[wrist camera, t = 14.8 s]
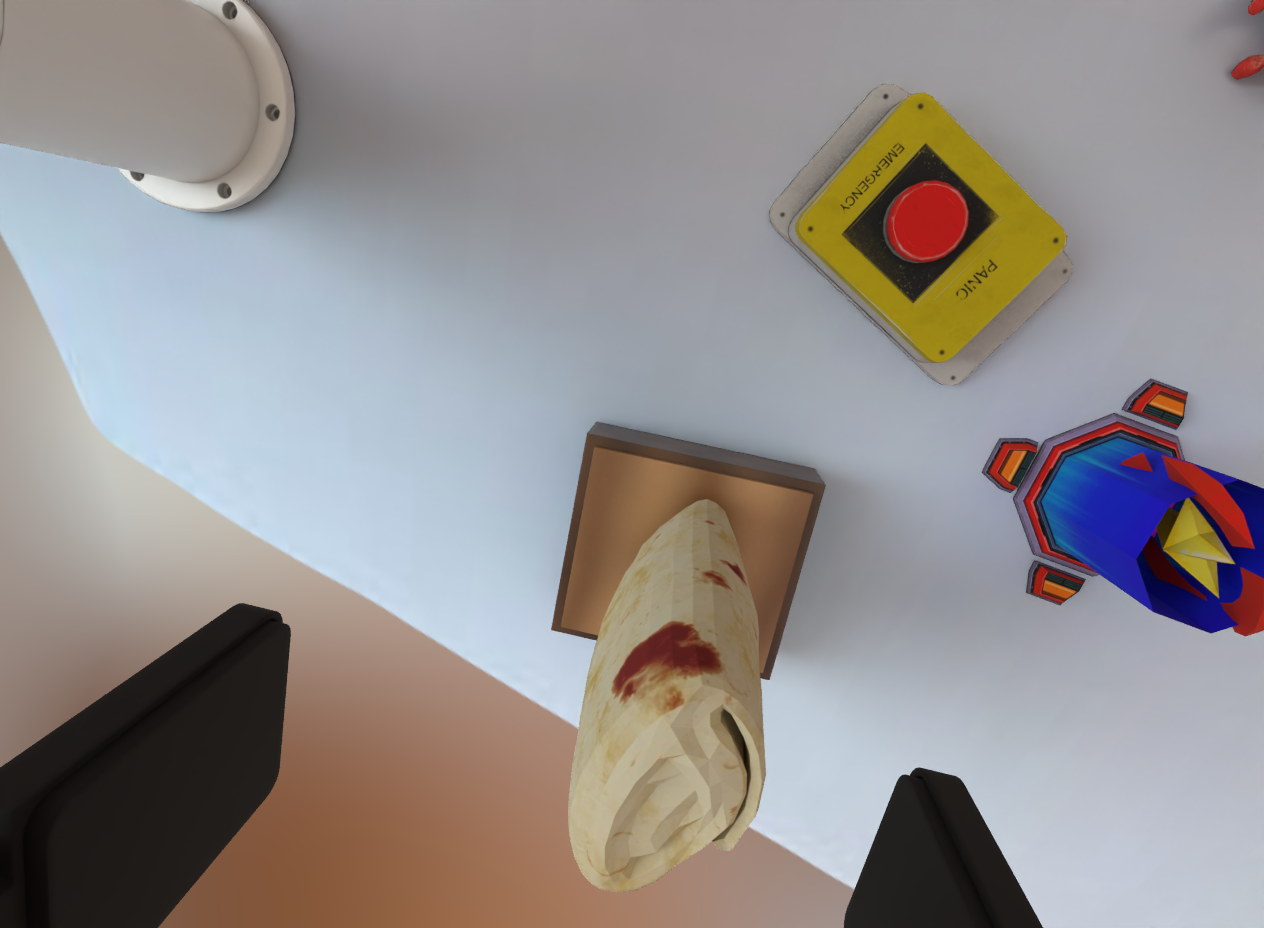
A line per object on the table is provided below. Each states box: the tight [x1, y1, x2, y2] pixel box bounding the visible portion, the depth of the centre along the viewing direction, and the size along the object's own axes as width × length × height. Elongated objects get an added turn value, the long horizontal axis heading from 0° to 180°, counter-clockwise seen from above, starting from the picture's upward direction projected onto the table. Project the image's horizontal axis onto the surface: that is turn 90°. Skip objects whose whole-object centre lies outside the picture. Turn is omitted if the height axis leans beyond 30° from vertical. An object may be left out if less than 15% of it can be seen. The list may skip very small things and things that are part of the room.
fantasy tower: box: [982, 379, 1264, 636], centre depth 34 cm, size 12×12×12 cm
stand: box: [551, 422, 825, 680], centre depth 41 cm, size 14×13×4 cm
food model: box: [568, 499, 766, 892], centre depth 30 cm, size 10×7×20 cm
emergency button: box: [769, 84, 1072, 385], centre depth 35 cm, size 9×4×15 cm
